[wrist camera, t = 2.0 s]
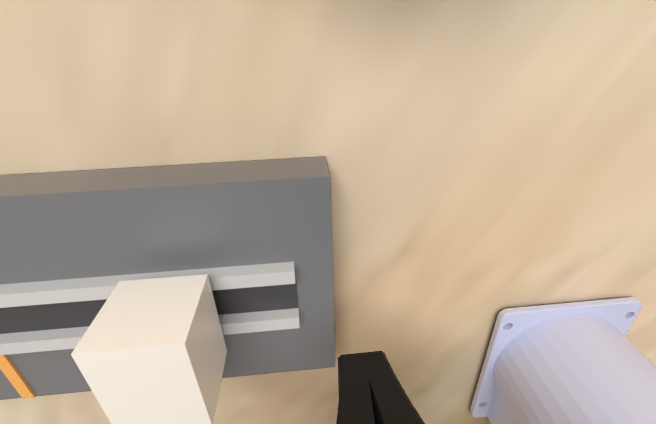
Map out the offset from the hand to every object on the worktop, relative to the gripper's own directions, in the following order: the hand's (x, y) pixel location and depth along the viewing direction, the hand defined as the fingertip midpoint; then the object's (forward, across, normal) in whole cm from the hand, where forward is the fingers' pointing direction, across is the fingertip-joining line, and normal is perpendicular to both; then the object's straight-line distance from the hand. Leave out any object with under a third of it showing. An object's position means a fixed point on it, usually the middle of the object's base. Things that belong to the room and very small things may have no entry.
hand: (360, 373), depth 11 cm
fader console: (+6, +10, 0) cm, 12 cm away
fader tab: (+4, +6, 0) cm, 8 cm away
